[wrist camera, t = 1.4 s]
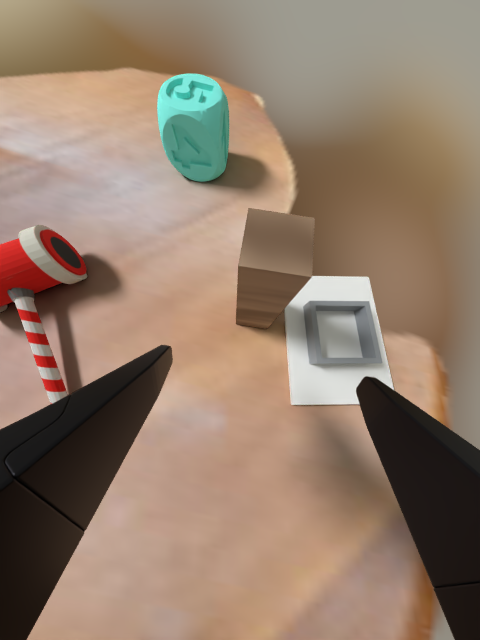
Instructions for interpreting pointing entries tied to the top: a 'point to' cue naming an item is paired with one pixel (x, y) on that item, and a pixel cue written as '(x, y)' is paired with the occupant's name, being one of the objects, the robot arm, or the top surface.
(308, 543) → the top surface
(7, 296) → the toy hammer
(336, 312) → the plate
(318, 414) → the top surface
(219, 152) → the decorative dice
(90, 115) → the top surface
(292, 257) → the brown wooden block
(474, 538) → the robot arm
